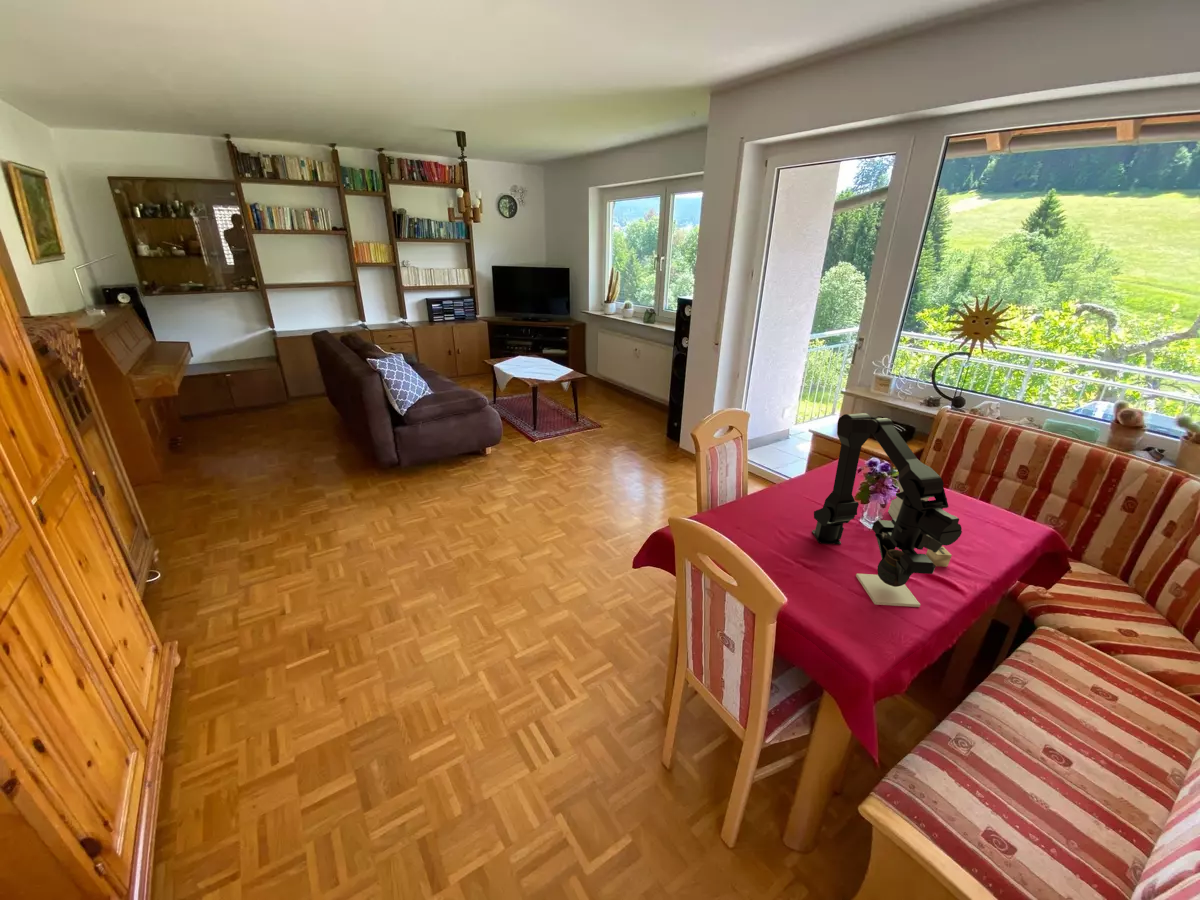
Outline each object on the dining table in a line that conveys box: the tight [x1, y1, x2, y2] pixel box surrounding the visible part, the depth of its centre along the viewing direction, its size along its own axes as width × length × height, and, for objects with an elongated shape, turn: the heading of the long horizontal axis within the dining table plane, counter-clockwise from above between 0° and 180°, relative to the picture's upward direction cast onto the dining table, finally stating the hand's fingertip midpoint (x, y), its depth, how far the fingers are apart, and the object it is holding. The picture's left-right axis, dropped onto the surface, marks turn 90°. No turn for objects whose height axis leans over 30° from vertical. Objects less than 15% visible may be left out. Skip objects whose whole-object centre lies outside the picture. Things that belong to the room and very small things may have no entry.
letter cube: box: [925, 546, 953, 568], centre depth 138 cm, size 4×4×4 cm
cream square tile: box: [855, 573, 921, 608], centre depth 127 cm, size 11×11×1 cm
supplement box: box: [888, 478, 930, 519], centre depth 157 cm, size 7×7×13 cm
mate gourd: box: [877, 545, 911, 587], centre depth 124 cm, size 7×8×10 cm
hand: (892, 572), depth 125 cm, fingers closed on mate gourd, 7 cm apart
